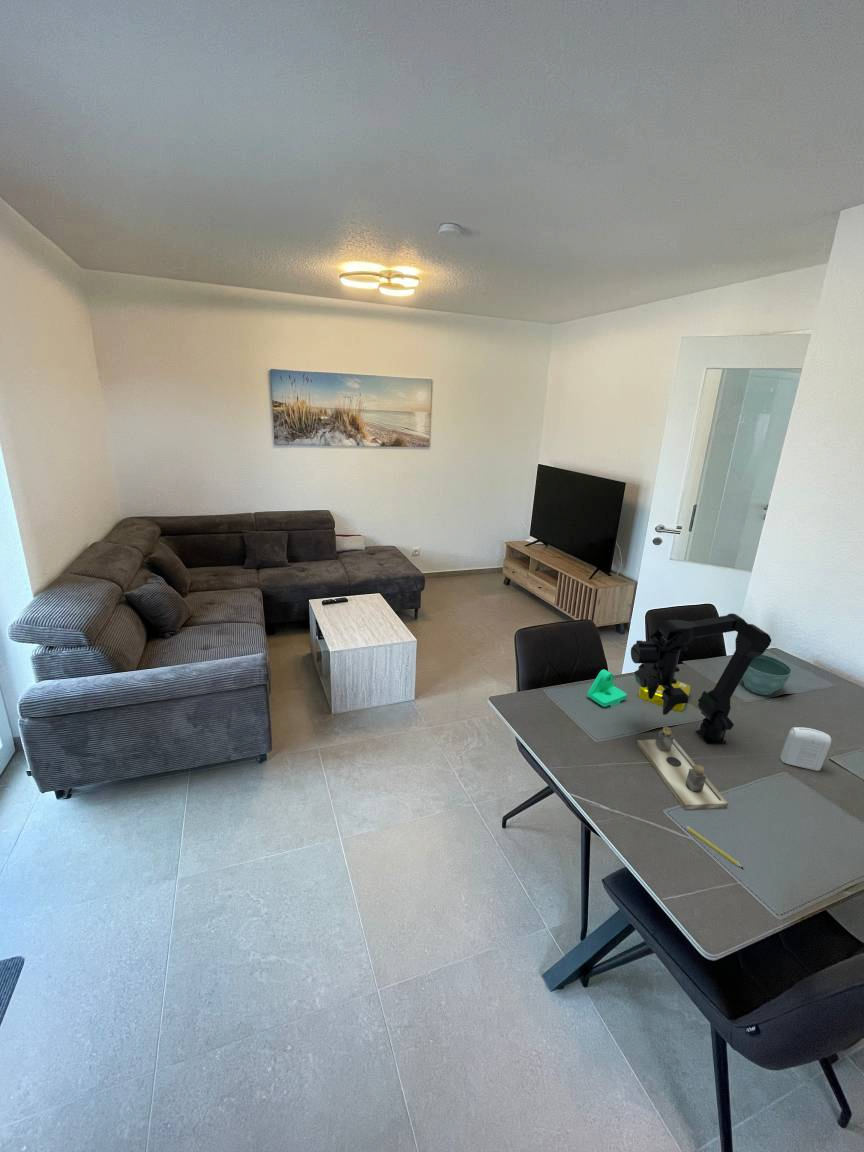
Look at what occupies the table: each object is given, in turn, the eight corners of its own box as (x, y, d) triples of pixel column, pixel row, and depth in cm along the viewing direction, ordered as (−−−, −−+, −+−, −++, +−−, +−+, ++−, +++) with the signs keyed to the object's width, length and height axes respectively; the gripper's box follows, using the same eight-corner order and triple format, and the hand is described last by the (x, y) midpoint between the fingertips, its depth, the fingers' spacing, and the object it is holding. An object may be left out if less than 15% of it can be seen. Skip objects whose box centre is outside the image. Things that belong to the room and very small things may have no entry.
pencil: (743, 872, 115) (744, 868, 114) (684, 829, 125) (685, 826, 125) (745, 869, 115) (746, 866, 115) (687, 828, 126) (687, 825, 125)
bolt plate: (673, 742, 157) (678, 721, 154) (726, 807, 132) (734, 783, 129) (636, 744, 155) (641, 722, 152) (684, 809, 131) (691, 785, 128)
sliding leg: (665, 743, 153) (669, 726, 151) (670, 750, 150) (675, 732, 148) (655, 744, 153) (660, 726, 151) (661, 750, 150) (665, 732, 148)
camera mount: (603, 709, 172) (608, 684, 168) (586, 698, 178) (591, 673, 175) (626, 700, 178) (632, 675, 174) (609, 690, 184) (614, 665, 180)
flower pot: (793, 702, 181) (802, 676, 178) (749, 700, 181) (757, 674, 178) (766, 678, 197) (773, 654, 193) (725, 676, 197) (732, 652, 193)
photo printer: (816, 763, 150) (829, 729, 146) (822, 773, 147) (836, 738, 142) (777, 755, 153) (789, 721, 149) (782, 764, 149) (794, 730, 145)
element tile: (636, 698, 180) (639, 686, 178) (646, 680, 192) (649, 670, 190) (681, 714, 172) (684, 702, 170) (689, 695, 184) (692, 683, 182)
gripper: (626, 647, 157) (618, 690, 162) (657, 679, 140) (647, 726, 145) (659, 646, 158) (651, 689, 164) (694, 678, 141) (683, 724, 146)
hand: (657, 706), depth 155 cm, fingers open, 8 cm apart
